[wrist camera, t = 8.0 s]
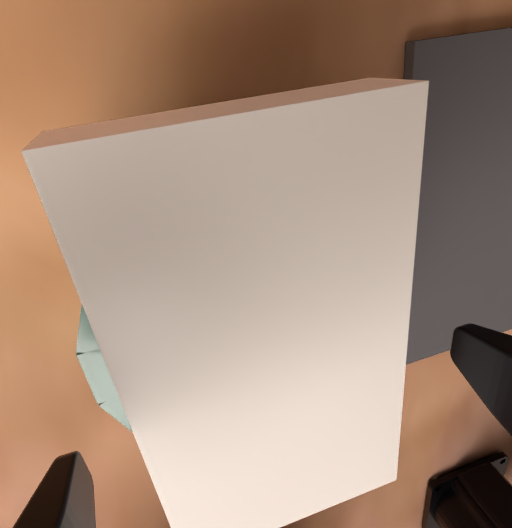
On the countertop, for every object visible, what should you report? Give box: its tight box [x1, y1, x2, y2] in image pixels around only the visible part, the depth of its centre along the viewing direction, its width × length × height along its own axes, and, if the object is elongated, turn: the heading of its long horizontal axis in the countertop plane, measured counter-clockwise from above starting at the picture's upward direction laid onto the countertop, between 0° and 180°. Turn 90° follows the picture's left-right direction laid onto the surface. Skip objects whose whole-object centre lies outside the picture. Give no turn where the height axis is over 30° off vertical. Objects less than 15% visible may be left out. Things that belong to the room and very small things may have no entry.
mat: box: [404, 27, 512, 365], centre depth 18 cm, size 15×10×1 cm, turn 7°
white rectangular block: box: [21, 78, 429, 528], centre depth 10 cm, size 12×7×2 cm, turn 7°
